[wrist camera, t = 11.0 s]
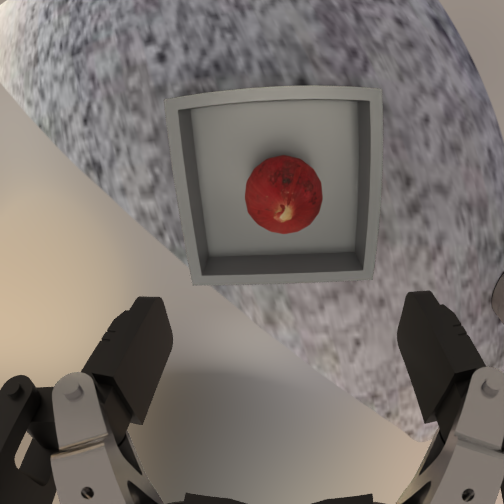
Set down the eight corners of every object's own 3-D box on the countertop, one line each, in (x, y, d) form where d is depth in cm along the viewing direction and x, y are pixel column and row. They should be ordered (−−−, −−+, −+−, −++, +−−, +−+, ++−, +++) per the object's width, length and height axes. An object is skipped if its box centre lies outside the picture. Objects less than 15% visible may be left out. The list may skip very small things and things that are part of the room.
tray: (365, 91, 22) (381, 88, 18) (361, 255, 29) (372, 279, 25) (181, 100, 24) (163, 99, 20) (203, 261, 31) (192, 285, 27)
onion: (255, 143, 24) (246, 159, 17) (322, 157, 24) (342, 178, 17) (244, 207, 27) (232, 247, 20) (308, 219, 27) (319, 263, 20)
